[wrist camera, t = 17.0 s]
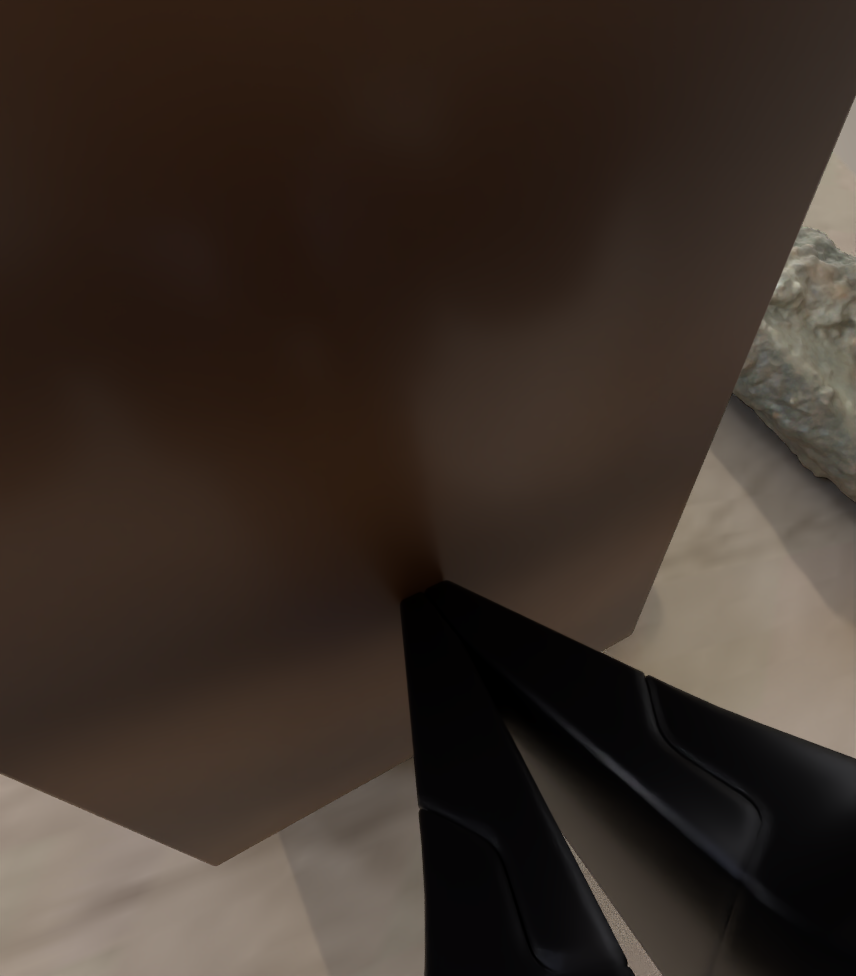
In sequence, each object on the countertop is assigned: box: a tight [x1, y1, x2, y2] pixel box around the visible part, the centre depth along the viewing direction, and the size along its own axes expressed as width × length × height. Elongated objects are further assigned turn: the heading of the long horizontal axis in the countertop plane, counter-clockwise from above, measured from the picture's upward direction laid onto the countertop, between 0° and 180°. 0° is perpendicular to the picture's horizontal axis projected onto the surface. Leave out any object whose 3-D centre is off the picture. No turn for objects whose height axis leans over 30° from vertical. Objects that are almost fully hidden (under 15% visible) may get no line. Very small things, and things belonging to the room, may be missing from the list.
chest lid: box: [0, 0, 856, 866], centre depth 8 cm, size 14×12×1 cm
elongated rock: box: [732, 226, 856, 503], centre depth 27 cm, size 35×5×10 cm
